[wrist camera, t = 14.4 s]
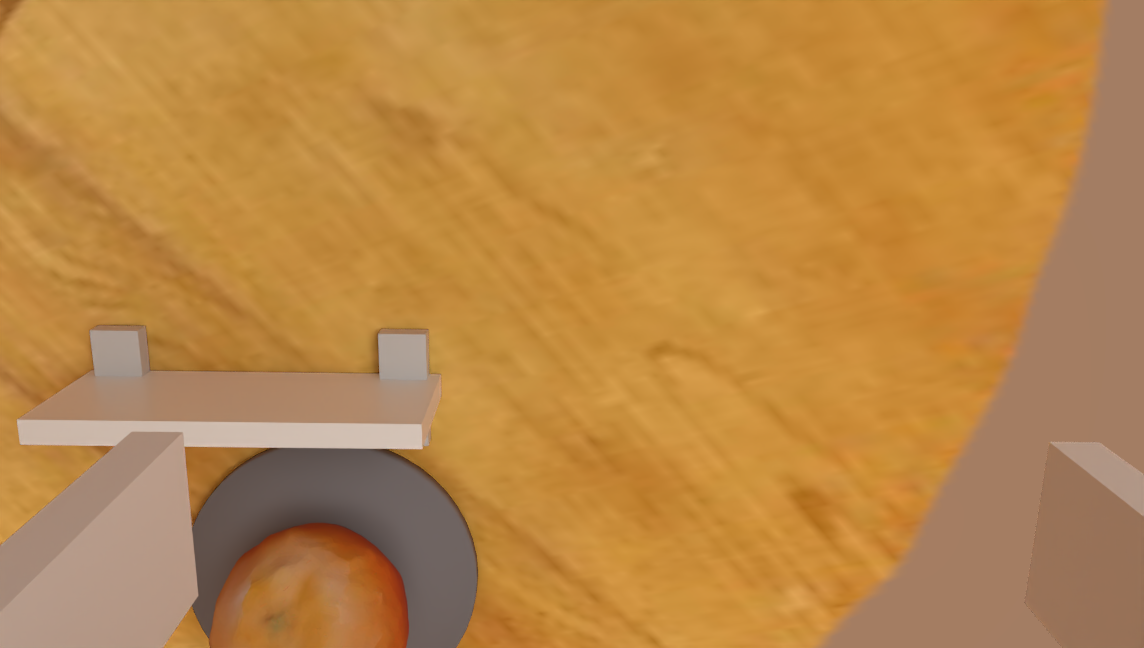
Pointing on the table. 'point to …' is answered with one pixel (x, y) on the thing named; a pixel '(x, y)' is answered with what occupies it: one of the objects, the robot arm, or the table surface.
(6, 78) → the table surface
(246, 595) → the fruit
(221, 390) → the wall
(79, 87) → the table surface
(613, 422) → the table surface
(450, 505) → the mat
